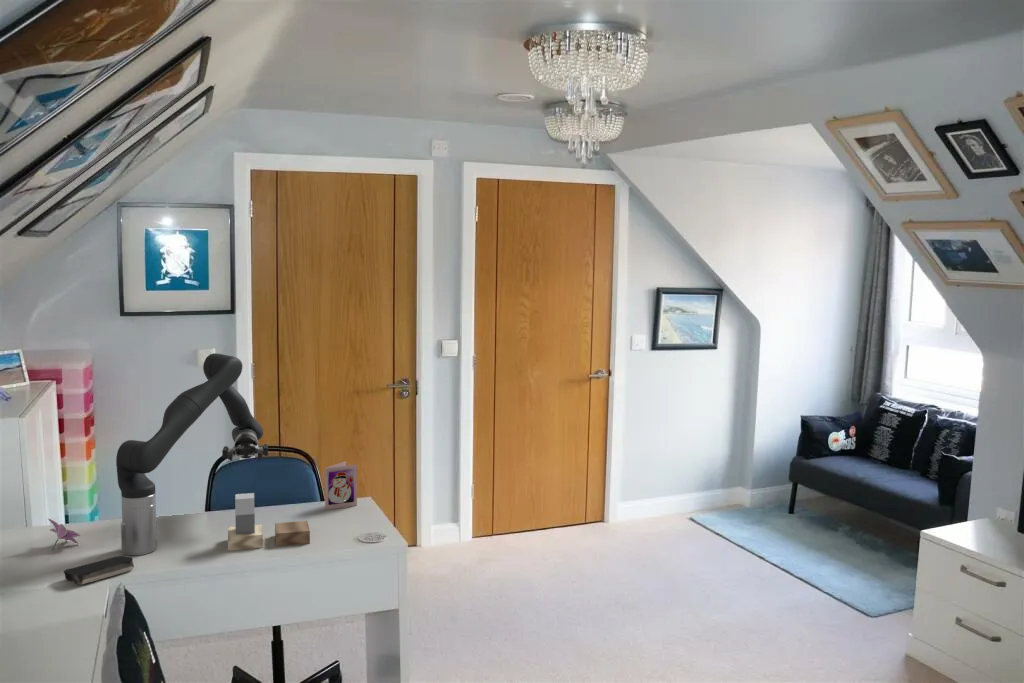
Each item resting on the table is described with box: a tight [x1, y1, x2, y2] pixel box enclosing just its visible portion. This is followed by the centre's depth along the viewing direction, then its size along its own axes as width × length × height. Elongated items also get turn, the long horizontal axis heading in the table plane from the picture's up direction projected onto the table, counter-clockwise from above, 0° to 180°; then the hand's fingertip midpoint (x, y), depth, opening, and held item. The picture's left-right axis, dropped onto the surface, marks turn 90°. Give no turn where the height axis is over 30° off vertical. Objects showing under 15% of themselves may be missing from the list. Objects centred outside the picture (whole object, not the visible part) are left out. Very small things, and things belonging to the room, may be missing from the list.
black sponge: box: [63, 555, 135, 585], centre depth 221 cm, size 16×8×4 cm, turn 141°
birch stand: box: [227, 524, 264, 551], centre depth 248 cm, size 10×10×4 cm
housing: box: [234, 492, 256, 535], centre depth 247 cm, size 6×6×11 cm
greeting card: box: [324, 460, 358, 510], centre depth 288 cm, size 11×7×15 cm, turn 118°
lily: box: [47, 517, 81, 550], centre depth 242 cm, size 11×11×9 cm
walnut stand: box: [274, 520, 311, 547], centre depth 253 cm, size 10×10×4 cm
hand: (245, 456), depth 258 cm, fingers open, 8 cm apart
